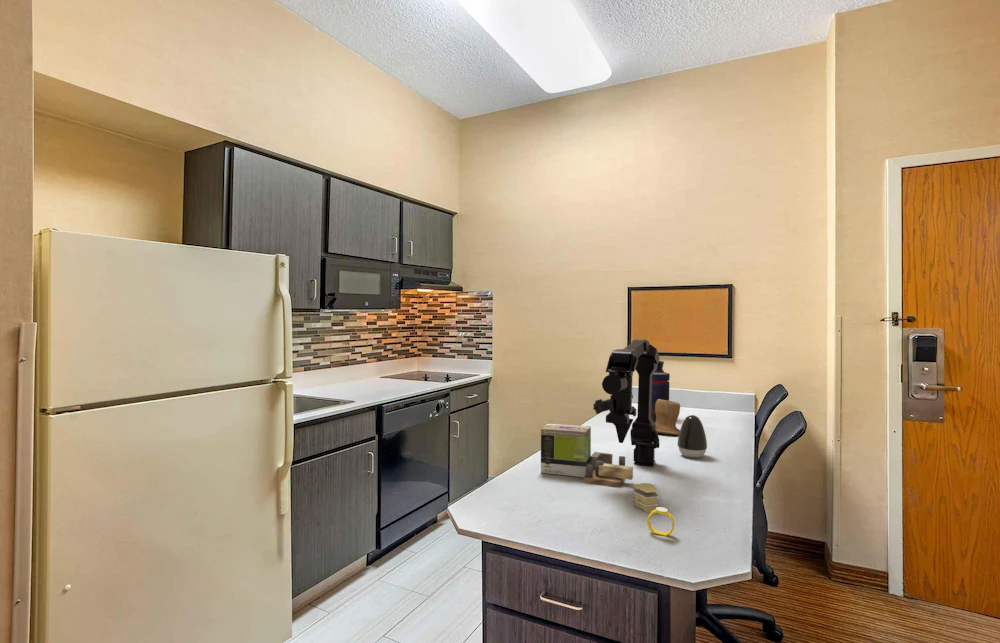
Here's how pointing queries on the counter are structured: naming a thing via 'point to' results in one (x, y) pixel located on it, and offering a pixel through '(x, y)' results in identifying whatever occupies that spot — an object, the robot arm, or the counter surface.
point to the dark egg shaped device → (692, 438)
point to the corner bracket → (600, 458)
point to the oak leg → (614, 470)
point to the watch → (661, 511)
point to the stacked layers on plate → (646, 496)
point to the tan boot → (667, 416)
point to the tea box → (565, 449)
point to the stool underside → (603, 480)
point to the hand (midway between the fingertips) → (621, 442)
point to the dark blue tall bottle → (659, 387)
